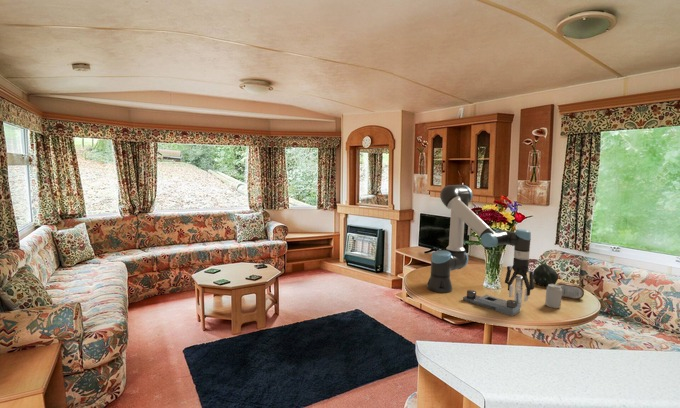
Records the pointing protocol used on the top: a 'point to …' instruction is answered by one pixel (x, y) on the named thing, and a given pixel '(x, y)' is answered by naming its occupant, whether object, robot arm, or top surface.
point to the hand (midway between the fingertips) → (518, 298)
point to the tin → (571, 290)
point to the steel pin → (518, 289)
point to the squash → (545, 275)
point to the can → (553, 296)
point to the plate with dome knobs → (493, 303)
